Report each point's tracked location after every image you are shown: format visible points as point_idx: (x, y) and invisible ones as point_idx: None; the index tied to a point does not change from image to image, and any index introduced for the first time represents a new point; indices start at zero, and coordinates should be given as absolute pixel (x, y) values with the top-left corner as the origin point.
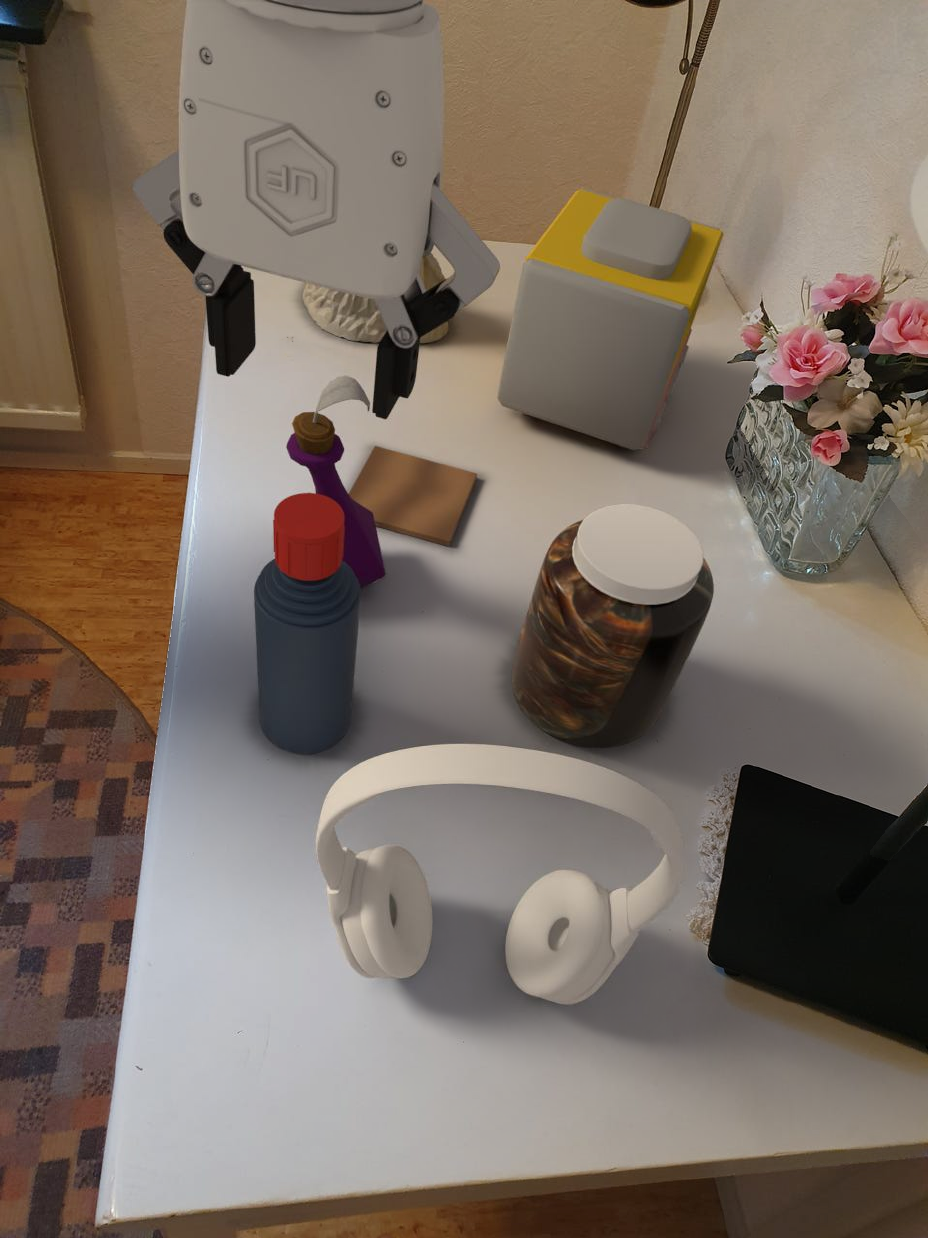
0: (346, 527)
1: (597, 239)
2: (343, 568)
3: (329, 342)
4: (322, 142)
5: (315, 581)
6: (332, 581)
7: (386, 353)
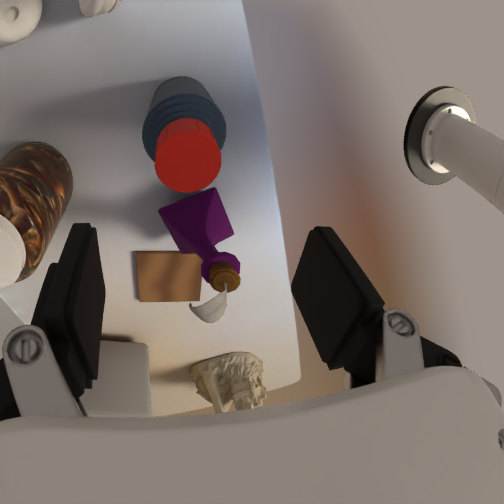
0: (188, 229)
1: None
2: None
3: (243, 347)
4: None
5: None
6: None
7: (52, 307)
